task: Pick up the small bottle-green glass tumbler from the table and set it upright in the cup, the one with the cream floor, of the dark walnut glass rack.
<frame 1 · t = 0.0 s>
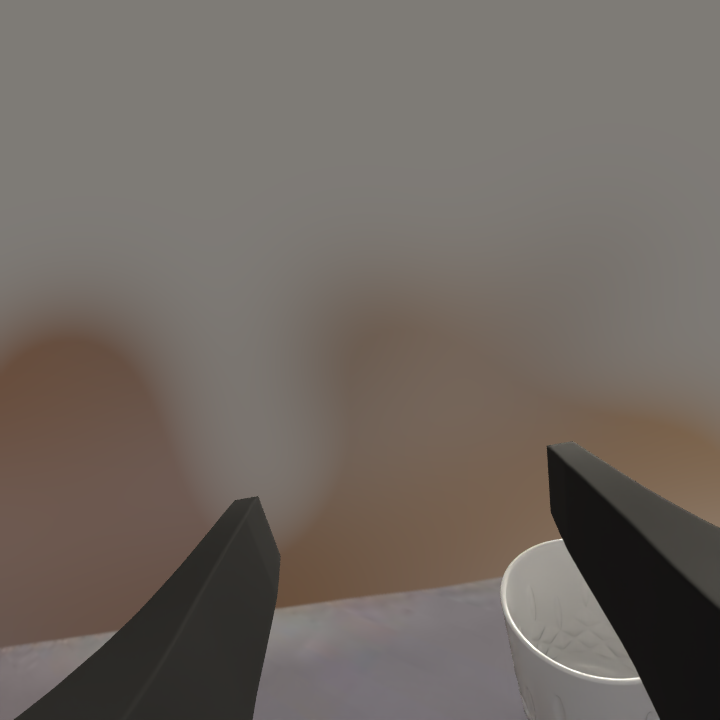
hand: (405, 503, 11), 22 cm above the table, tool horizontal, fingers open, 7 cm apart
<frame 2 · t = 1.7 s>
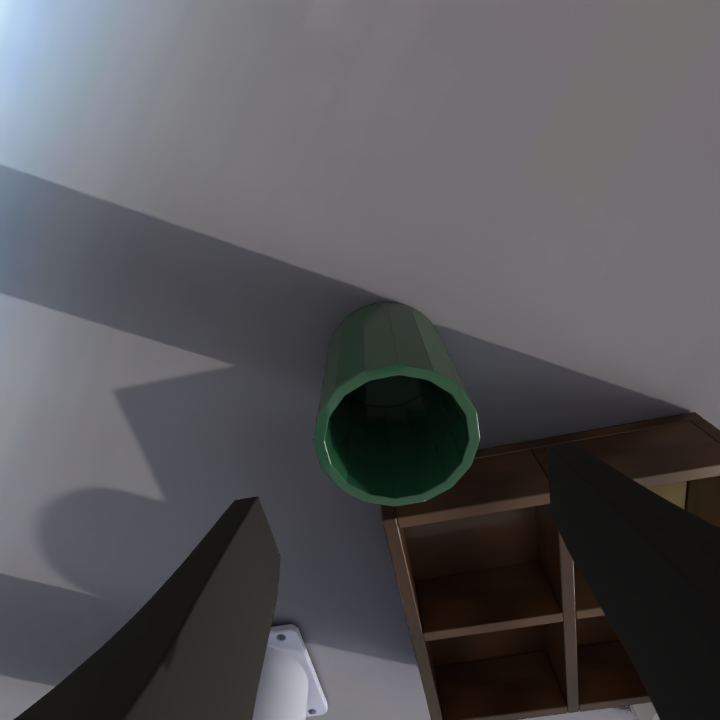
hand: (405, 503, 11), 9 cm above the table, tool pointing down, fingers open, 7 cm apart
white cup: (678, 683, 29), on the table
tumbler: (385, 357, 20), on the table
rack: (541, 555, 24), on the table
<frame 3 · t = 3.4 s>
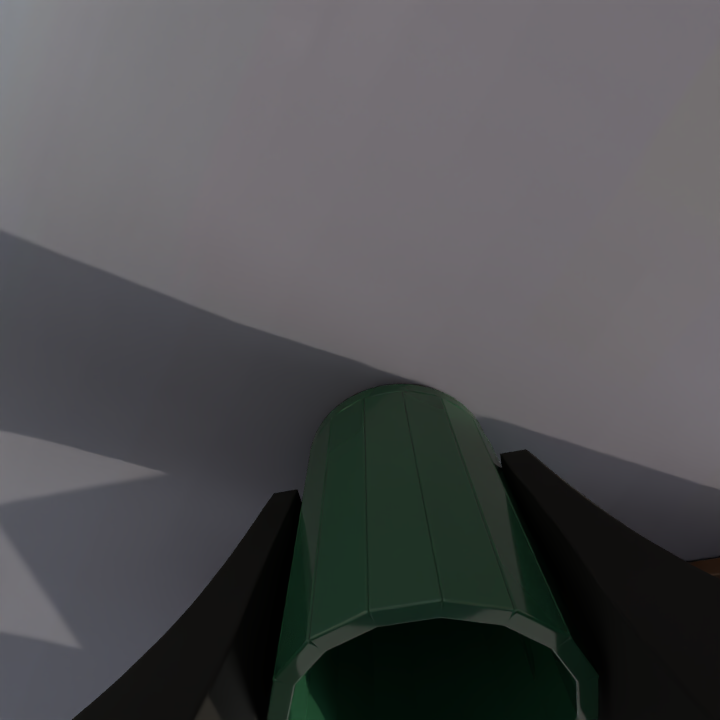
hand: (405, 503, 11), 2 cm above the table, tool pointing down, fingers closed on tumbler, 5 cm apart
tumbler: (398, 462, 13), on the table, touching gripper
rack: (613, 711, 17), on the table
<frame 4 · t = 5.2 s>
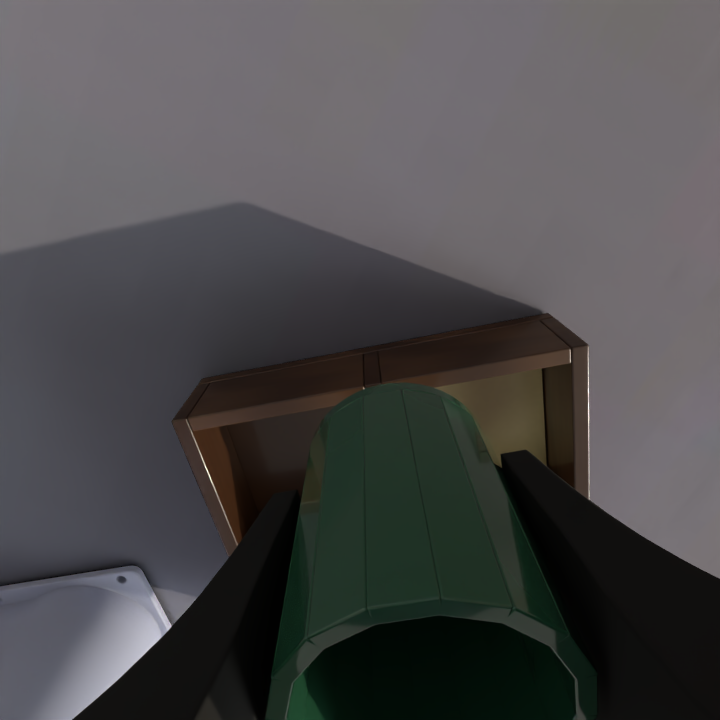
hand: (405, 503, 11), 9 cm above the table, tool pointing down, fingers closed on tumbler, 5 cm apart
tumbler: (397, 461, 13), point 7 cm above the table, touching gripper
rack: (399, 486, 22), on the table
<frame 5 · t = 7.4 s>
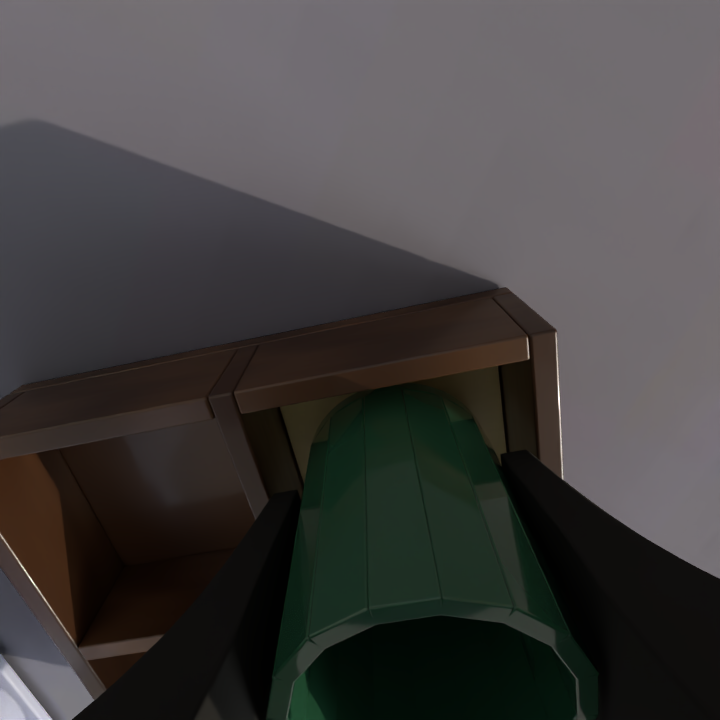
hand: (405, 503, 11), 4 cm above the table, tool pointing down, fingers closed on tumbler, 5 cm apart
tumbler: (398, 461, 13), point 2 cm above the table, touching gripper
rack: (315, 528, 16), on the table
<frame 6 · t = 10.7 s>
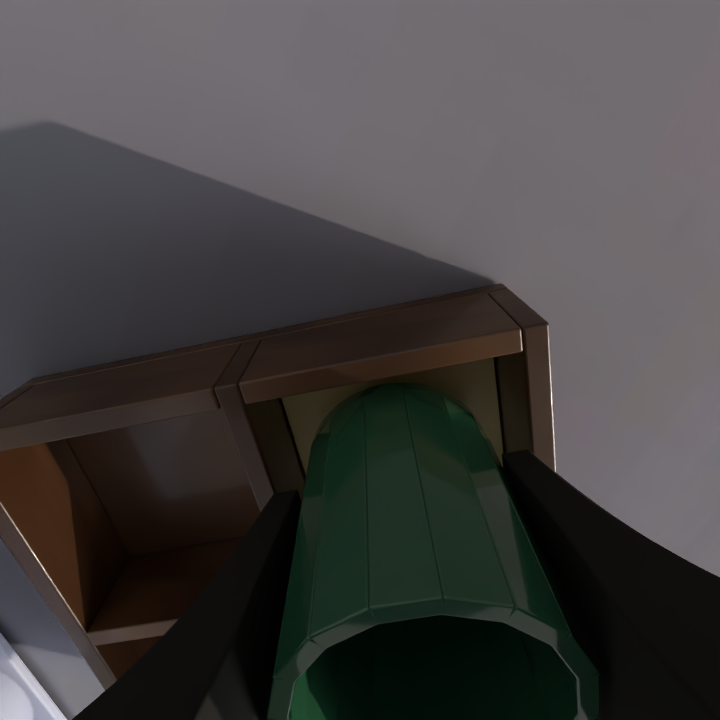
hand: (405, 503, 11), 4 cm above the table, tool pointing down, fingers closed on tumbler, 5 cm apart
tumbler: (398, 461, 13), point 2 cm above the table, touching gripper
rack: (316, 519, 17), on the table
when the fingers open (4 cm above the table, at t = 13.9 s): tumbler drops 2 cm, resting on rack.
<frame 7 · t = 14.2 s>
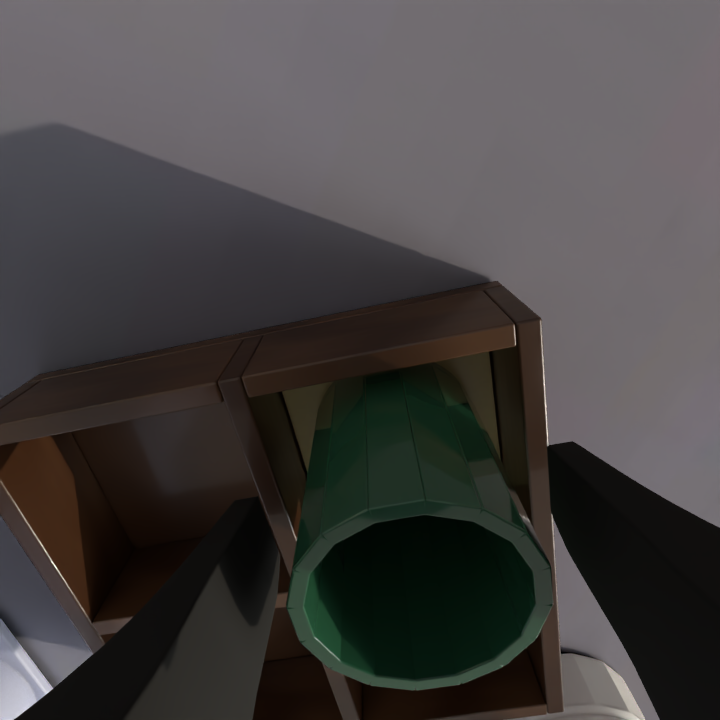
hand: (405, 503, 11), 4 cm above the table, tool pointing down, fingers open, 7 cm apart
white cup: (548, 693, 22), on the table
tumbler: (394, 425, 15), point 1 cm above the table, touching rack
rack: (316, 512, 17), on the table
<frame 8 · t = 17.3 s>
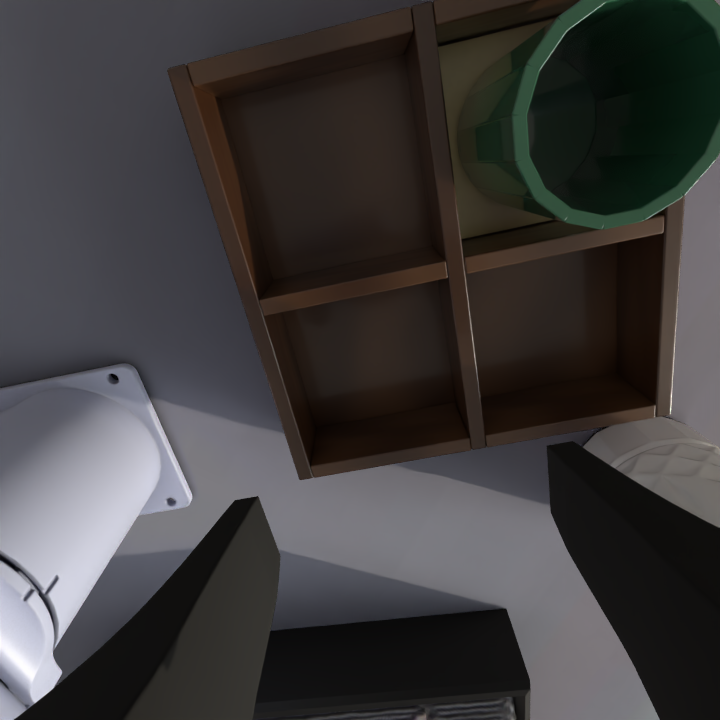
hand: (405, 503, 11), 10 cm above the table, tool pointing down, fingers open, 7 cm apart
white cup: (630, 469, 23), on the table
tumbler: (527, 131, 16), point 1 cm above the table, touching rack
rack: (438, 249, 19), on the table
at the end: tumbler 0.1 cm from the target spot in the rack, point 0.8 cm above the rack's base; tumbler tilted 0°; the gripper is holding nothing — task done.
